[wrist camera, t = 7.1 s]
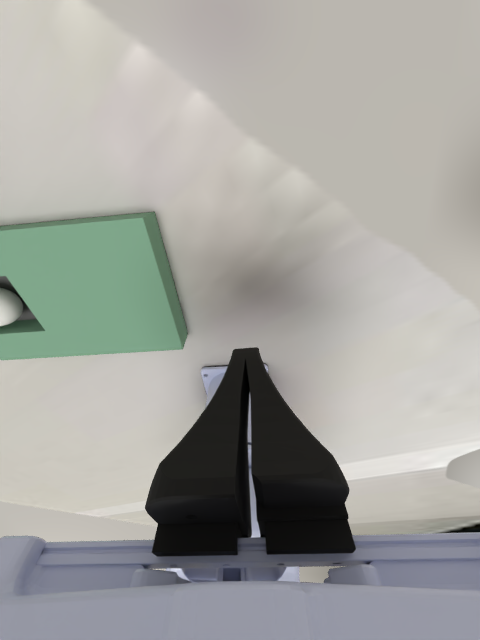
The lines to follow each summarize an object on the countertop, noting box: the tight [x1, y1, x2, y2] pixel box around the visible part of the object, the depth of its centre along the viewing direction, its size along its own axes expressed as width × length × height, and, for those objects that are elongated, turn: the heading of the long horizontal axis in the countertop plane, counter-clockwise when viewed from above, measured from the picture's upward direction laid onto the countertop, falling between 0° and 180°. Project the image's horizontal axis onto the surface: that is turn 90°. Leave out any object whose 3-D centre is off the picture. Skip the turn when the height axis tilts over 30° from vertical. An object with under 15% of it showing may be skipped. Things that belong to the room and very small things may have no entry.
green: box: [0, 212, 188, 360], centre depth 20 cm, size 12×19×2 cm, turn 95°
